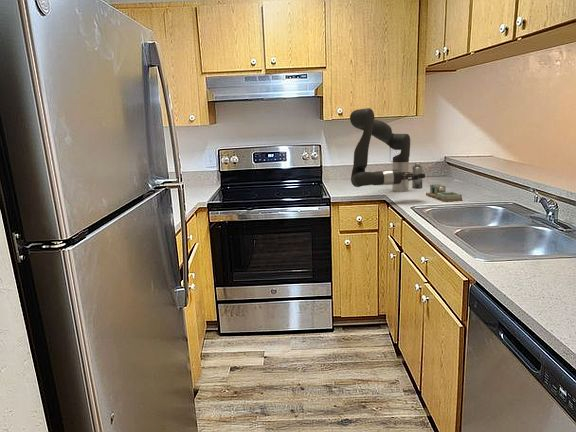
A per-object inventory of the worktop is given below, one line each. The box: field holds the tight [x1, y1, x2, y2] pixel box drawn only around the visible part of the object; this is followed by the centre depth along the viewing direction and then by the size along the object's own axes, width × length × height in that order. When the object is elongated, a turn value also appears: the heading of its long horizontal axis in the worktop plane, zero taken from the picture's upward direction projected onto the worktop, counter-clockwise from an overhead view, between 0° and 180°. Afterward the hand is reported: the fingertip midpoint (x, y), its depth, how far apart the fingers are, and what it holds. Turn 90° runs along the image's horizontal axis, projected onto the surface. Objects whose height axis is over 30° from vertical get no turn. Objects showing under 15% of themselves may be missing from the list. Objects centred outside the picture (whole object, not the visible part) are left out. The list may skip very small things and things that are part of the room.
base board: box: [425, 192, 463, 203], centre depth 238 cm, size 21×10×1 cm, turn 8°
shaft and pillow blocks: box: [429, 183, 446, 195], centre depth 243 cm, size 9×5×5 cm, turn 7°
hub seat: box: [437, 191, 463, 199], centre depth 232 cm, size 9×9×2 cm
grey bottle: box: [411, 162, 424, 190], centre depth 231 cm, size 5×5×13 cm
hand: (422, 175), depth 231 cm, fingers closed on grey bottle, 5 cm apart
